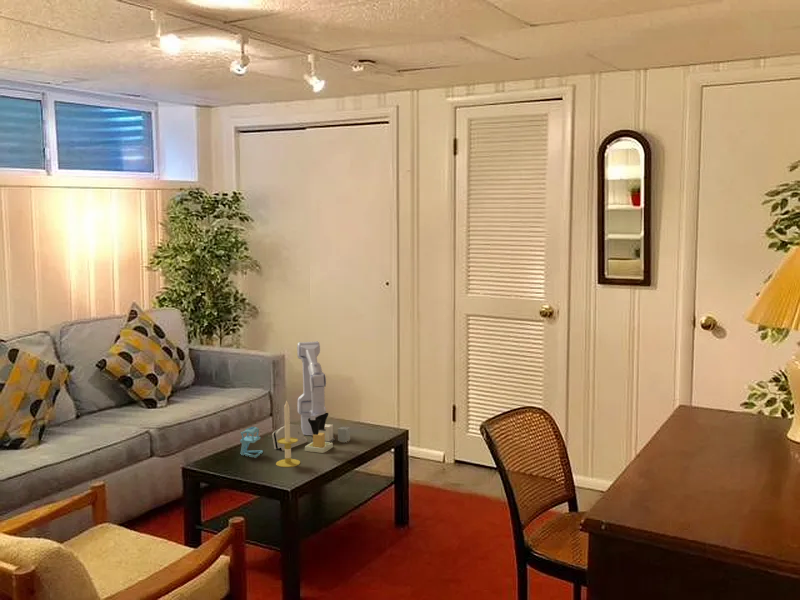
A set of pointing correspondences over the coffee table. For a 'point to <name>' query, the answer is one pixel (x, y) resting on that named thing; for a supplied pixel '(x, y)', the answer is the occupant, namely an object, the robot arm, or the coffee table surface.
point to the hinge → (294, 433)
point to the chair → (248, 440)
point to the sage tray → (317, 449)
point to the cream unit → (327, 433)
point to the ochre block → (319, 440)
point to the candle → (287, 442)
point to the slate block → (344, 434)
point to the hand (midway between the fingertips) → (318, 431)
